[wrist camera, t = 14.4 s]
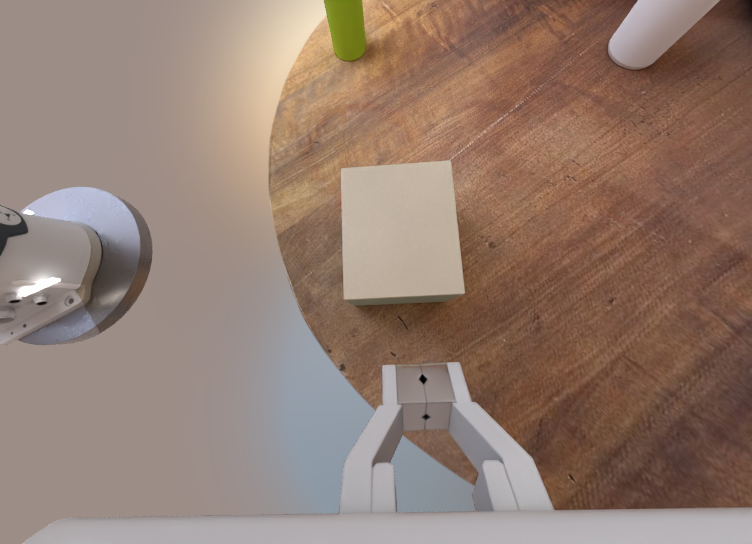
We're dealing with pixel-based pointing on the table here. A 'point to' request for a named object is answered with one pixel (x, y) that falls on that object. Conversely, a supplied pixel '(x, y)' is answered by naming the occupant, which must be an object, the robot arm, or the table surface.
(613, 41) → the mug
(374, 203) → the lid
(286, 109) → the table surface
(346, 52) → the soap dispenser
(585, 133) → the table surface
